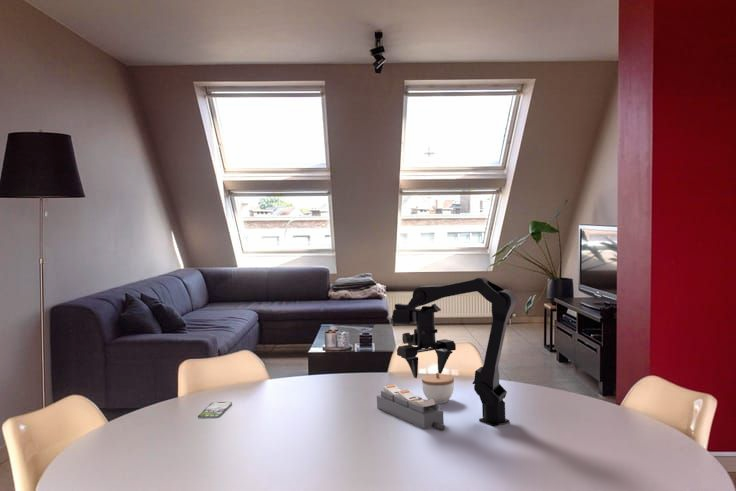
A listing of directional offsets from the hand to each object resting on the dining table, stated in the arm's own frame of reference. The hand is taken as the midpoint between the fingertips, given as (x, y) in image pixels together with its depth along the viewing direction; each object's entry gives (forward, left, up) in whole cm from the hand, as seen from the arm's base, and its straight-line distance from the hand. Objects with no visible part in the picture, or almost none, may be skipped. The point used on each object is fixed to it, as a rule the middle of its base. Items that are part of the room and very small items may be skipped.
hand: (427, 375), depth 188 cm
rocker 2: (+2, +6, -6) cm, 9 cm away
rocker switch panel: (0, +6, -12) cm, 13 cm away
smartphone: (+45, +54, -13) cm, 72 cm away
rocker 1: (-6, +6, -6) cm, 11 cm away
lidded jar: (+9, -11, -12) cm, 19 cm away
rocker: (+10, +6, -6) cm, 13 cm away
